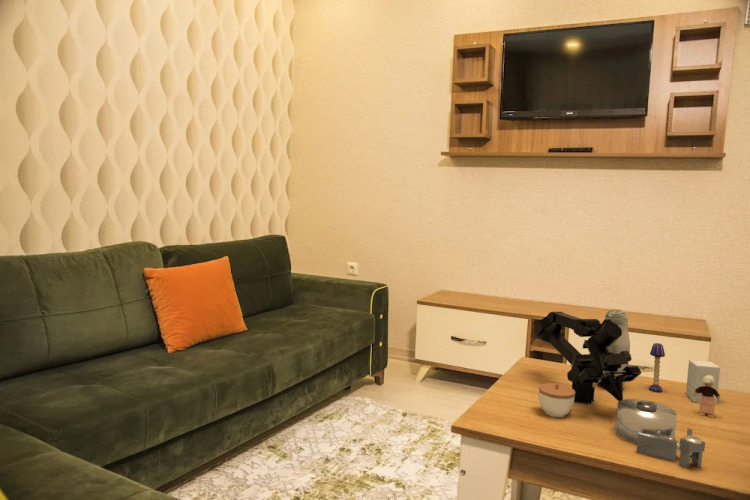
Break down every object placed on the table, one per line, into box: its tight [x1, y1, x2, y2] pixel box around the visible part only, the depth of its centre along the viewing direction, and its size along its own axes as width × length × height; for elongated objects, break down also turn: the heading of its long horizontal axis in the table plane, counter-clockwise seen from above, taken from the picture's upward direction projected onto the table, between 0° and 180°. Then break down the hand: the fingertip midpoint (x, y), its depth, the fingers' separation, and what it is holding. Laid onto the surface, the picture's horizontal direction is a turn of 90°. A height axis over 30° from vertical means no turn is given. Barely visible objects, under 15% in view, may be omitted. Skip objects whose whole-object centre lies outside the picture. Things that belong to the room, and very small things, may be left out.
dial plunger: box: [668, 438, 694, 458], centre depth 142 cm, size 7×2×2 cm, turn 14°
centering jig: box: [636, 428, 706, 469], centre depth 142 cm, size 12×17×7 cm
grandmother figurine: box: [693, 375, 723, 418], centre depth 173 cm, size 8×4×13 cm, turn 65°
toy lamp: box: [648, 342, 666, 393], centre depth 194 cm, size 5×5×17 cm
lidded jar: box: [538, 382, 575, 418], centre depth 170 cm, size 11×11×9 cm
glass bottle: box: [604, 309, 631, 386], centre depth 195 cm, size 10×10×28 cm
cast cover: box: [615, 398, 678, 445], centre depth 156 cm, size 15×15×9 cm
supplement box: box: [685, 359, 721, 405], centre depth 186 cm, size 7×7×13 cm
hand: (621, 400), depth 164 cm, fingers closed
